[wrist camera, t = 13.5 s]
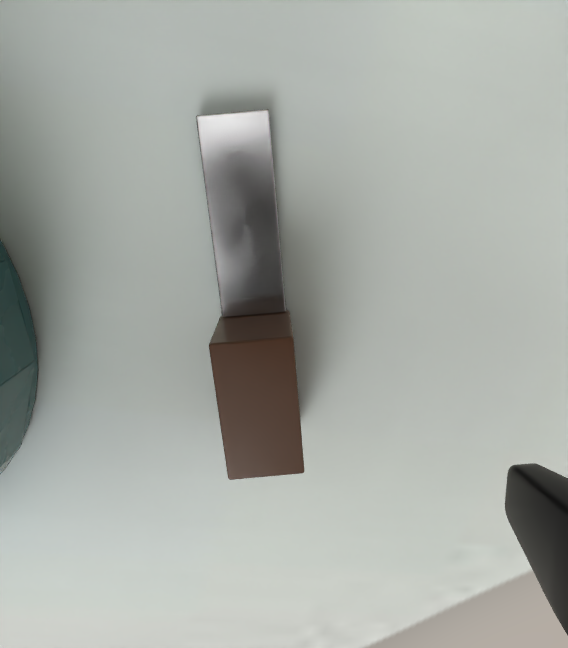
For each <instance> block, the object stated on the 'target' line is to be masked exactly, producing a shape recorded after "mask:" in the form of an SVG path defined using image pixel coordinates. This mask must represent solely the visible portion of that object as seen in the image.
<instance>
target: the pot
mask: <svg viewBox="0 0 568 648" xmlns="http://www.w3.org/2000/svg"><path fill="white" fill-rule="evenodd" d="M37 374H38V364H37V348H36V337H35V333H34V328H33V323H32V318H31V313H30V308H29V305H28V302H27V300H26V297H25V294H24V291H23V288H22V285H21V282H20V279H19V276H18V274H17V272H16V270H15V268H14V266H13V264H12V262H11V260H10V258H9V256H8V253H7V251H6V249H5V247H4V245H3V243H2V242H1V240H0V474H1V473H2V472H3V471H4V470H5V469H6V467H7V465H8V464H9V462H10V461H11V459H12V458H13V456H14V455H15V453H16V452H17V451H18V449H19V448H20V446H21V444H22V439H23V437H24V435H25V432H26V430H27V428H28V425H29V422H30V418H31V414H32V410H33V406H34V402H35V397H36V386H37Z"/></svg>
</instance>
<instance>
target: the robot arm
mask: <svg viewBox="0 0 568 648" xmlns="http://www.w3.org/2000/svg"><path fill="white" fill-rule="evenodd" d="M505 511H506V515H507V518H508V520H509V523H510V525H511V527H512V529H513V531H514V533H515V535H516V537H517V539H518V541H519V543H520V545H521V547H522V549H523V551H524V553H525V555H526V557H527V559H528V561H529V563H530V565H531V567H532V569H533V571H534V573H535V575H536V577H537V579H538V581H539V583H540V585H541V587H542V589H543V592H544V594H545V596H546V597H547V599H548V601H549V603H550V605H551V607H552V609H553V611H554V613H555V614H556V616H557V618H558V619H559V621H560V623H561V625H562V627H563V628H564V630H565V632H566V633H567V635H568V478H566V477H564V476H562V475H560V474H557V473H555V472H553V471H551V470H549V469H547V468H545V467H542V466H540V465H538V464H533V463H531V464H520V465H513V466H511V467H510V468H509V470H508V475H507V486H506V497H505Z"/></svg>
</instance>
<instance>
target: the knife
mask: <svg viewBox="0 0 568 648" xmlns="http://www.w3.org/2000/svg"><path fill="white" fill-rule="evenodd" d="M196 120H197V128H198V136H199V143H200V151H201V158H202V166H203V173H204V181H205V188H206V196H207V204H208V211H209V219H210V226H211V234H212V241H213V249H214V256H215V264H216V271H217V279H218V287H219V294H220V302H221V309H222V316H221V317H220V319H219V322H218V324H217V327H216V329H215V331H214V334H213V336H212V339H211V341H210V343H209V350H210V356H211V363H212V370H213V377H214V384H215V391H216V398H217V405H218V411H219V418H220V425H221V432H222V439H223V446H224V453H225V459H226V466H227V473H228V478H229V479H230V480H231V479H242V478H253V477H265V476H276V475H287V474H298V473H304V461H303V448H302V436H301V424H300V411H299V399H298V387H297V375H296V362H295V350H294V338H293V331H292V325H291V318H290V312H289V311H288V310H286V304H285V293H284V281H283V269H282V257H281V246H280V234H279V222H278V210H277V199H276V187H275V175H274V163H273V152H272V140H271V128H270V117H269V110H268V109H265V110H254V111H242V112H231V113H219V114H208V115H197V116H196Z"/></svg>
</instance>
